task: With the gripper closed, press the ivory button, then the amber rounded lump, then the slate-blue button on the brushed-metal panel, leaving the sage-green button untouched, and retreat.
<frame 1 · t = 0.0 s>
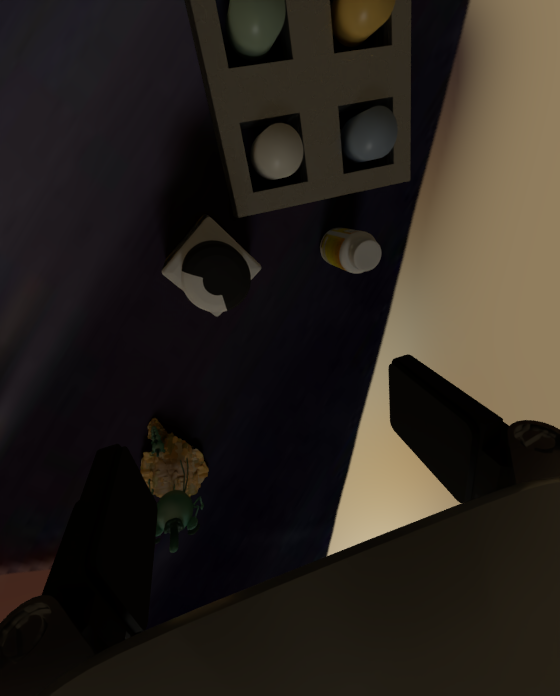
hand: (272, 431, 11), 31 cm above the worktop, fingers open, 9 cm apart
ivory button: (275, 153, 32), point 4 cm above the worktop, slide at 0.0 cm
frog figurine: (175, 461, 49), on the worktop
sage button: (254, 19, 27), point 4 cm above the worktop, slide at 0.0 cm
slate button: (367, 136, 33), point 4 cm above the worktop, slide at 0.0 cm
medicine bottle: (208, 258, 38), on the worktop
supplement bottle: (334, 245, 42), on the worktop
amber rounded lump: (361, 6, 29), point 4 cm above the worktop, slide at 0.0 cm
panel: (303, 95, 34), on the worktop
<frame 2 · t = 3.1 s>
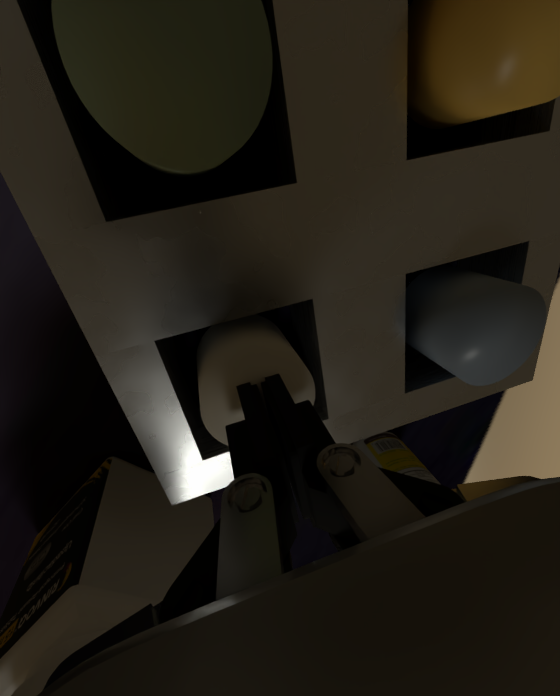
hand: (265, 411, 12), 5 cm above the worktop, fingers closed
ivory button: (250, 377, 14), point 3 cm above the worktop, slide at 0.7 cm, touching gripper
sage button: (174, 80, 9), point 4 cm above the worktop, slide at 0.0 cm
slate button: (463, 322, 15), point 4 cm above the worktop, slide at 0.0 cm
medicine bottle: (130, 511, 20), on the worktop
supplement bottle: (368, 451, 23), on the worktop
amber rounded lump: (492, 34, 10), point 4 cm above the worktop, slide at 0.0 cm
panel: (317, 224, 15), on the worktop
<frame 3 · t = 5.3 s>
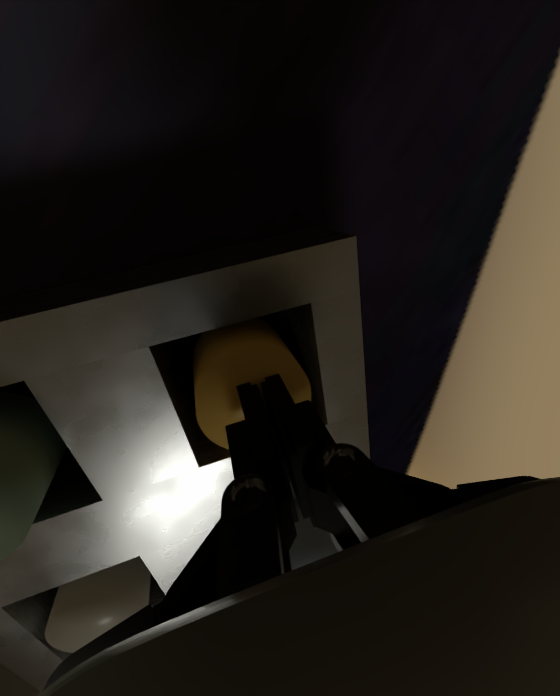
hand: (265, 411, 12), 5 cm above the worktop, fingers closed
ivory button: (106, 582, 17), point 3 cm above the worktop, slide at 1.5 cm
slate button: (290, 538, 18), point 4 cm above the worktop, slide at 0.0 cm
medicine bottle: (35, 659, 22), on the worktop
amber rounded lump: (246, 378, 14), point 3 cm above the worktop, slide at 1.0 cm, touching gripper
panel: (170, 452, 18), on the worktop
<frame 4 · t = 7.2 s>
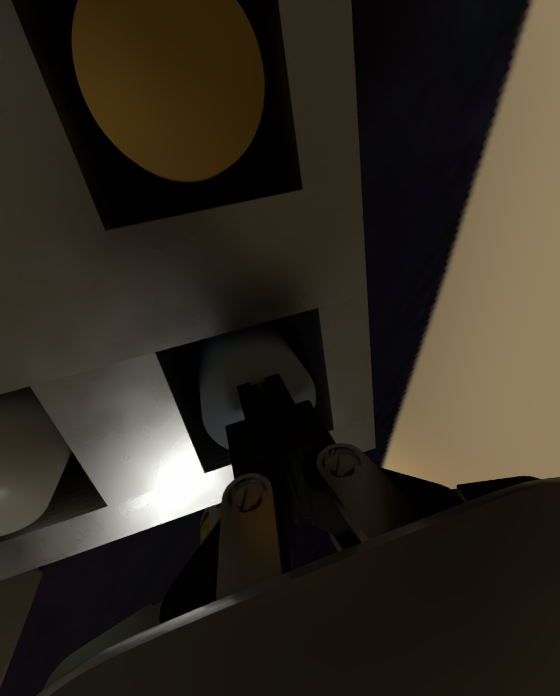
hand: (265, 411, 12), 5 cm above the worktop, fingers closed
ivory button: (4, 452, 13), point 3 cm above the worktop, slide at 1.5 cm
slate button: (251, 381, 14), point 3 cm above the worktop, slide at 1.2 cm, touching gripper
supplement bottle: (235, 509, 21), on the worktop
amber rounded lump: (177, 99, 10), point 3 cm above the worktop, slide at 1.5 cm
panel: (96, 282, 13), on the worktop
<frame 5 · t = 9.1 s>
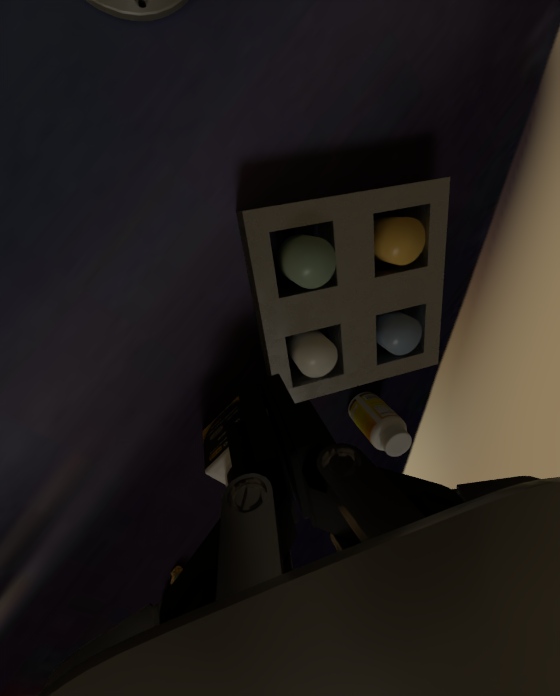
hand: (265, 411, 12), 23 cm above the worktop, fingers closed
ivory button: (311, 351, 35), point 3 cm above the worktop, slide at 1.5 cm
sage button: (305, 260, 30), point 4 cm above the worktop, slide at 0.0 cm
slate button: (393, 330, 37), point 3 cm above the worktop, slide at 1.4 cm
medicine bottle: (243, 424, 40), on the worktop
supplement bottle: (361, 404, 43), on the worktop
amber rounded lump: (393, 240, 33), point 3 cm above the worktop, slide at 1.5 cm
panel: (340, 292, 36), on the worktop
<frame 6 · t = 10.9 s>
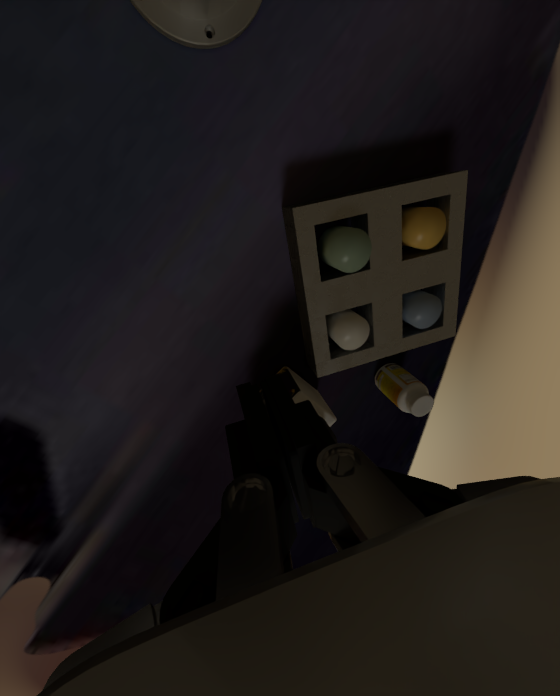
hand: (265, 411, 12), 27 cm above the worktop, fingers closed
ivory button: (345, 327, 40), point 3 cm above the worktop, slide at 1.5 cm
sage button: (343, 248, 35), point 4 cm above the worktop, slide at 0.0 cm
slate button: (416, 307, 42), point 3 cm above the worktop, slide at 1.4 cm
medicine bottle: (284, 394, 46), on the worktop
supplement bottle: (386, 374, 49), on the worktop
amber rounded lump: (417, 227, 37), point 3 cm above the worktop, slide at 1.5 cm
panel: (369, 275, 41), on the worktop
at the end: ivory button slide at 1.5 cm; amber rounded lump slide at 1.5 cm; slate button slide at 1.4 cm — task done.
